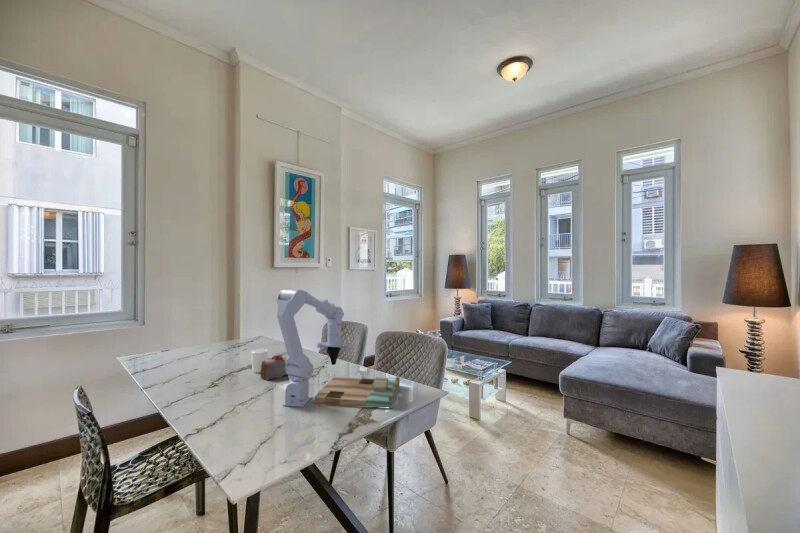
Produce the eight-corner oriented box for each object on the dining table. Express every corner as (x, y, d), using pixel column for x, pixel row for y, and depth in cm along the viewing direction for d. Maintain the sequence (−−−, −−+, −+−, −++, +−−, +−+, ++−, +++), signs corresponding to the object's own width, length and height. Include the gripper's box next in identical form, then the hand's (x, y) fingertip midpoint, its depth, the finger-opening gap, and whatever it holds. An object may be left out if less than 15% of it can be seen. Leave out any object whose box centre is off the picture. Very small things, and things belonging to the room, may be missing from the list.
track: (391, 409, 121) (391, 397, 121) (314, 404, 124) (314, 392, 124) (399, 385, 145) (399, 376, 145) (334, 382, 148) (334, 372, 148)
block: (385, 392, 131) (386, 382, 131) (373, 391, 131) (373, 381, 131) (387, 387, 136) (388, 377, 136) (376, 386, 136) (376, 377, 136)
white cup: (263, 373, 159) (263, 352, 159) (247, 373, 159) (248, 352, 159) (270, 368, 167) (270, 348, 167) (255, 368, 167) (255, 348, 167)
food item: (285, 371, 163) (285, 351, 163) (294, 374, 158) (294, 354, 158) (259, 378, 153) (259, 357, 153) (268, 381, 148) (268, 360, 148)
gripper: (352, 332, 147) (352, 362, 147) (321, 331, 149) (321, 360, 149) (348, 335, 140) (347, 367, 140) (315, 334, 142) (315, 365, 142)
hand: (333, 364), depth 144 cm, fingers closed
